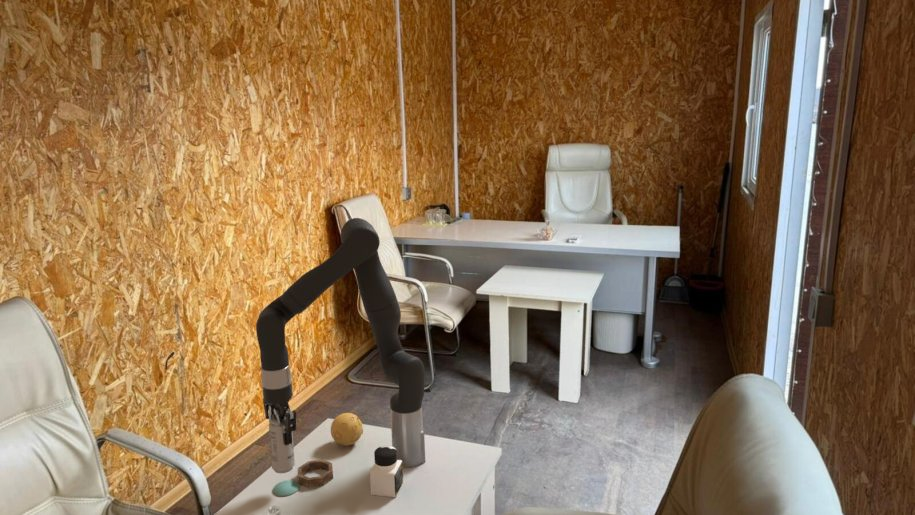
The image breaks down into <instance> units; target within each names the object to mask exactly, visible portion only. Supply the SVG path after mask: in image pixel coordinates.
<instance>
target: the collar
mask: <svg viewBox="0 0 915 515" xmlns="http://www.w3.org/2000/svg"><path fill="white" fill-rule="evenodd" d="M317 470H318V471H319V470H321V471H322V470H323V471H325V473H323V474H322V475H319V476H313V477H309V476H307V475H306V474H307V473H309V472H312V471H317ZM333 479H334V470H333V463H332V462H329V461H327V460H324V459H316V460H309V461H306V462H305V463H303V464H302V465H300V466H299V467H298V468H297V480H298V481H297V482H298V483H299V486H303V487H305V488H309V489H311V488H317V487H323V486H325V485H327V484H328V483H329V482H331V481H332V480H333Z"/></svg>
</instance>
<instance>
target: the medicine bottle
mask: <svg viewBox="0 0 915 515" xmlns="http://www.w3.org/2000/svg"><path fill="white" fill-rule="evenodd" d="M373 456H374V464H373V466H372V467H371V469H370V471H369V481H370V482H369V484H370V495H372V496H379V497H380V496H381V497H389V498H396V497H397V495H398V494H399V492H400V490H401V488H402V486H403V484H404V474H403V468H404V467H402V460H397V450H396V449H395V448H394V447H392V445H382V446H379V447H377V448H376V449H375V450H374V452H373Z"/></svg>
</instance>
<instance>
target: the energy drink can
mask: <svg viewBox="0 0 915 515" xmlns="http://www.w3.org/2000/svg"><path fill="white" fill-rule="evenodd" d="M281 420H282V421H284V420H285V418H284V419H281ZM268 423H269V422H268ZM284 425H285V428H286V423H285V424H284ZM293 432H294V431H292V443H291V444H289V445H284V441H283V431H282V427H281V425H279V424H278V421H277V417H274V416H272V417H271V421H270V423H269V424H268V433H269V445H270V446H269V447H270V459H271V460H270V461H271V469H272V470H274V473H277V474H286V473H289V472H291V471H292V470H293V469H294V466H295V465H296V464H295V462H296V461H295V448H294V434H293Z"/></svg>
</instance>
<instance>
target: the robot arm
mask: <svg viewBox="0 0 915 515" xmlns="http://www.w3.org/2000/svg"><path fill="white" fill-rule="evenodd" d="M340 241H341V244H340V245H339V247H338V248H337V250H336V251H334V253H333V254H332V255H331V256H329V257H328V258H327V259H326V260H324V261H323V262H322V263H320V264H319V265H317V266H315V267H314V268H311V269H310V270H309V271H308V270H307V271H306V272H305V273H304V274H303V275H301V276H300V277H299V278H297V279H296V280H295V281H294V282H293V283H292V284H291V285H290V286H289V287H288V288H287V289H286V290H284V292H283V293H282V294H281V295H280V296H278V297H277V298H275V299H274V300H273V301H271V302H270V303H268V305H267V306H265V307H264V308H263V309H262V310H261V312H260V313H259V315H258V317H257V321H256V324H255V329H256V338H257V344H258V347H259V351H260V352H259V353H260V354H259V356H260V367H261V369H260V370H261V374H260V376H261V377H260V378H261V387H262V403H263V409H264V414H265V419H266V420H268V423H270V421H271V417H272V416H274V417H277V421H278V424H279V425H281V427H282V431H283V441H284V445H289V444H291V443H292V431H293V432H294V431H296V430H297V412H296V409H295V410H294V409H293V410H291V408H290V405H289V401H290V400H291V399H292V397H293V396H294V395H293V394H294V393H293V383H292V382H293V381H292V372H291V367H290V361H289V360H290V359H289V351H288V347H287V345H286V331H285V330H286V328H285V327H286V325H287V323H289V322H290V321H291V320H292V319H293V318H295V316H296V315H299V314H301V313H303V312H304V311H306V309H308V308H309V307H310V306H311V305H312V304H313V303H314V302H315V301H317V299H319V298H320V297H321V296H322V294H324V293H325V292H327V290H329V288H330V287H332V286H333V285H334V284H336V283H337V282H338V281H339V280H341V279H342V278H344V277H345V275H347V274H349V273H350V272H351V271H353V270H354V272H355V276H356V281H357V285H358V289H359V294H360V298H361V302H362V306H363V309H364V313H365V314H366V317H367V320H368V322H369V325H370V328H371V331H372V334H373V337H374V340H375V343H376V346H377V350H378V356H379V359H380V365H381V368H382V372H383V375H384V376H385V378H386V379H387V380H388V381H390V382H391V383H393V384H396V385H398V392H396V393H394V394H393V395H391V397H390V399H389V409H390V411H389V412H390V427H391V428H390V430H391V446H392V447H394V448H395V449H396V450H397V460H402V468H413V467H417V466H419V465H420V464H422V463H426V447H425V446H426V441H425V431H424V428H423V427H424V426H423V399H424V396H425V374H426V372H425V365H424V363H423V361H422V360H421V359H420V357H417V356H415V355H412V354H410V353H408V352H406V351H405V350H404V348H403V346H402V343H401V340H400V338H399V327H400V324H401V319H402V318H401V317H402V315H401V314H402V313H401V312H402V311H401V307H400V304H399V301H398V298H397V296H396V292H395V289H394V288H393V286H392V283H391V281H390V278H389V277H388V274H387V272H386V270H385V269H384V267H383V265H382V264H383V263H382V262H381V259H380V256H379V251H378V250H379V247H380V244H381V243H380V241H381V240H380V236H379V235H378V232H377V231H376V229H375V228H374V226H373V225H372V224H371V223H370V222H369V221H367V220H366V219H364V218H359V217H354V218H350V219H349V220H347V221H346V222H345V223H344V224H343V225H342V228H341V230H340ZM284 418H285V420H284V421H282V420H281V419H284ZM285 423H286V428H285V425H284V424H285Z"/></svg>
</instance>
